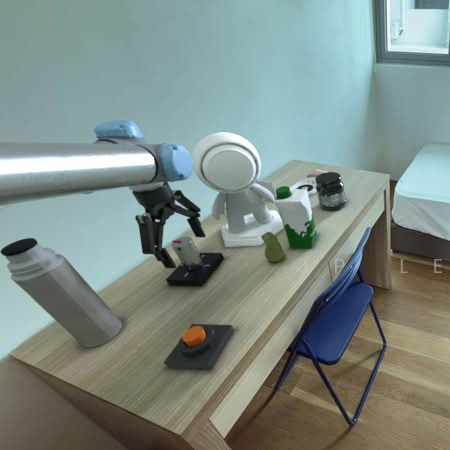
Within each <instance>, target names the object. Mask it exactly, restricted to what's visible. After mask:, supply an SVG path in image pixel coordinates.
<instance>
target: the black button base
mask: <svg viewBox="0 0 450 450" xmlns="http://www.w3.org/2000/svg"><path fill="white" fill-rule="evenodd" d="M194 326H201V327H202V328H203V330H204V331H205V333H206V338H205V340H204V341H203V342H202V343H200V344H199V345H197V346H194V347H189V346H187V344H186V343H185V342H184V340H183V335H182V336H181V338H180V339H179V340H178V342H177V343H176V345H175V346H174V348H173V349H172V350H171V352H170V353H169V355H168V356H167V357H166V358H165V360H164V361H163V364H164V365H165V366H166V367H167V368H168V369H179V370H182V369H183V370H204V371H212V370H213V368H214V366H215V364H216V363H217V361H218V360H219V358H220V356H221V354H222V353H223V351H224V350H225V348H226V346H227V344H228V343H229V341H230V340H231V337H232V335H233V334H234V333H235V328H234V327H233V326H232V324H209V323H191V325H190V326H189V327H188V329H190V328H192V327H194Z"/></svg>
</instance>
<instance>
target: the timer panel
mask: <svg viewBox="0 0 450 450" xmlns="http://www.w3.org/2000/svg"><path fill="white" fill-rule="evenodd" d="M199 253H200V255H201V257H202V259H203V261H204V264H203V266H202V267H200V268H199V269H197V270H194V271H187V270H186V269H185V268H184V266H183V264H182V263H181V262H180V264H179V265H178V266H177V267H176V268H174V270H173V271H172V272H171V273H170V274H169V275H168V276H167V278H165V281H166V283H167V284H168V286H169V287H201V288H203V286H204V285H205V284H206V283H207V281H208V280H209V279H210V278H211V276H212V275H213V274H214V273H215V271H216V270H217V269H218V268H219V266H220V265H221V264H222V263H223V261H224V260H225V256H224V254H223V253H222V252H201V251H199Z"/></svg>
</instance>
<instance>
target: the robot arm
mask: <svg viewBox="0 0 450 450" xmlns="http://www.w3.org/2000/svg"><path fill="white" fill-rule="evenodd" d="M93 132H94V134H95V138H96V139H97V140H95V141H94V142H92V143H91V142H90V143H87V142H86V143H85V142H82V143H81V142H21V141H20V142H16V141H15V142H14V141H11V142H9V141H8V142H7V141H0V207H2V206H8V205H9V206H10V205H15V204H16V205H17V204H22V203H28V202H29V203H30V202H36V201H42V200H49V199H55V198H61V197H69V196H75V195H76V196H77V195H89V194H90V195H91V194H93V193H95V192H101V191H109V190H115V189H121V188H128V189H129V190H130V191H132V195H133V197H134V199H136V201H137V203H138V204H139V205H140V206H142V208H144V213H142V214H136V215H135V216H134V219H135V221H136V223H137V225H138V231H139V238H140V245H141V253H142V254H143V255H153V256H154V257H155V259H156V260H157V261H158V262H161V264H162V265H163V266H164V269H176V268H177V267H178V266H177V265H176V262H175V261H174V260H173V258H172V257H171V255H170V253H169V251H168V249H166V247H163V240H164V227H165V225H166V224H167V220H169V219H170V217H172V216H173V215H175V214H178V215H181V216H184V217H185V218H186V221H187V224H188V225H189V227H190V229H191V231H192V232H193V235H194V237H195V238H205V237H207V235H206V233H205V232H204V230H203V227H202V223H201V220H200V219H199V218H201V210H202V209H201V208H200V207H199V206H197V204H196V203H194V202H193V201H192V200H190V199H189V198H188V197H186V196H185V195H184V193H183V192H182V190H180V189H172V187H171V186H170V184H169V182H170V183H174V182H179V181H180V182H181V181H185V180H188V179H189V178H190V177H191V175H192V174H193V170H194V168H193V162H192V156H191V154H190V152H189V151H188V149H187V148H185V146H183V145H182V144H179V143H167V142H162V143H150V144H149V143H147V141H146V138H145V135H143V134H142V132H141V130H140V129H139V126H137V124H136V123H135V122H134V121H132V120H129V119H117V120H111V121H106V122H102V123H99V124H97V125H95V127H94V128H93ZM177 203H178V204H180V205H178V204H177Z"/></svg>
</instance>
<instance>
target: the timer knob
mask: <svg viewBox="0 0 450 450" xmlns="http://www.w3.org/2000/svg"><path fill="white" fill-rule="evenodd" d="M170 245H171V248H172V249H173V251H174V253H175V255H177V258H178V259H179V261H180V264H181V263H182V264H183V266H184V268H185V269H186V270H187V271H194V270H197V269H199V268H200V267H202V266H203V264H204V261H203V259H202V257H201V255H200V253H199V252H200V251H199V250H198V248H197V246H196V243H194V241H193V239H192V237H191V236H181V237H178V238H176V239H174V240H172V241H171V244H170Z"/></svg>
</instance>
